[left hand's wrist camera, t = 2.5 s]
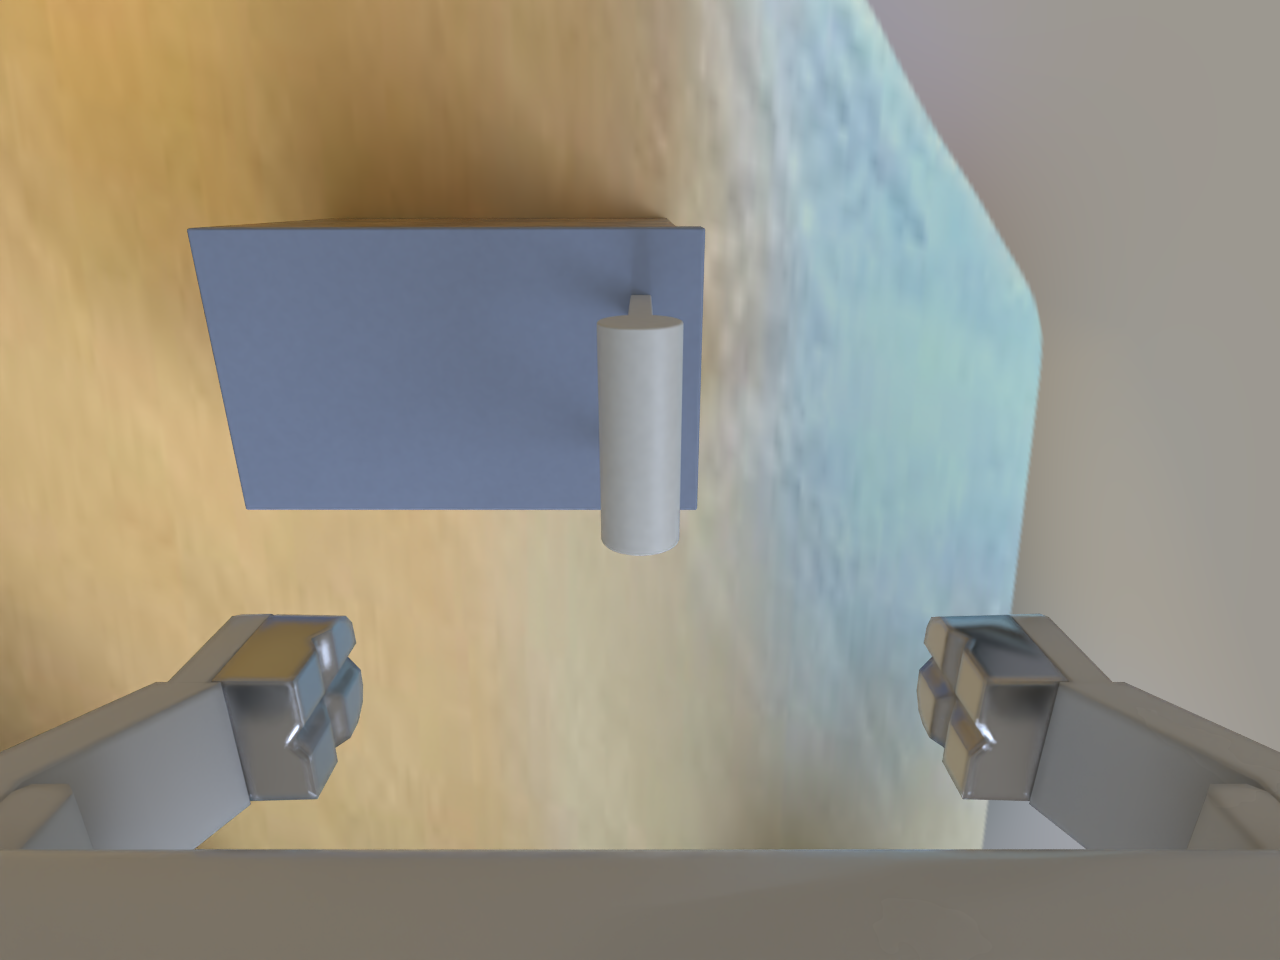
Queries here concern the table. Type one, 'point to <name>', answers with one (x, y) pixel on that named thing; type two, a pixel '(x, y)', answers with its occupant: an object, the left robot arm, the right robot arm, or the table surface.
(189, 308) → the table surface
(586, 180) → the table surface
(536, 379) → the lid
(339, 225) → the chest
